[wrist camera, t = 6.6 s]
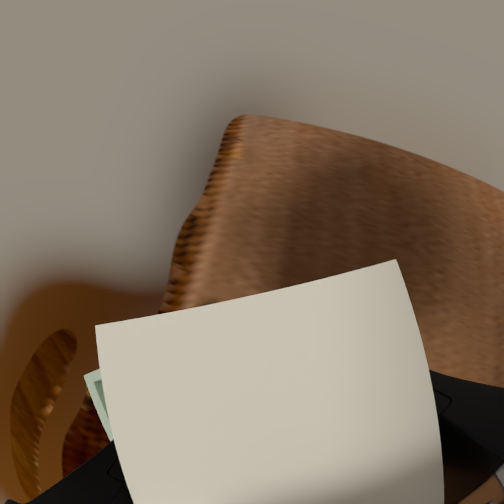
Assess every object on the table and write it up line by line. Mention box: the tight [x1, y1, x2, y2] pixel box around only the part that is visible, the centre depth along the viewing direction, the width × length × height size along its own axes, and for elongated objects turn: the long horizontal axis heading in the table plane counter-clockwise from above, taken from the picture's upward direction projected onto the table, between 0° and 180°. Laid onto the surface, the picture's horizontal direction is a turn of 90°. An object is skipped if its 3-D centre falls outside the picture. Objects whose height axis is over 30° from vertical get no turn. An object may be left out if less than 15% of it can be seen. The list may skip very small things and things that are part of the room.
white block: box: [95, 259, 444, 504], centre depth 9 cm, size 6×6×12 cm
